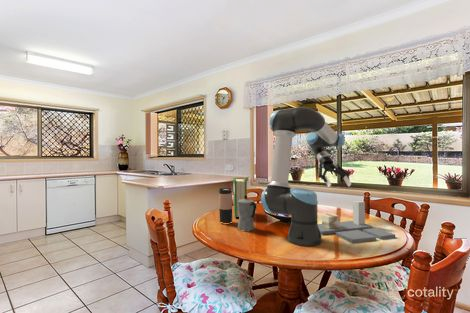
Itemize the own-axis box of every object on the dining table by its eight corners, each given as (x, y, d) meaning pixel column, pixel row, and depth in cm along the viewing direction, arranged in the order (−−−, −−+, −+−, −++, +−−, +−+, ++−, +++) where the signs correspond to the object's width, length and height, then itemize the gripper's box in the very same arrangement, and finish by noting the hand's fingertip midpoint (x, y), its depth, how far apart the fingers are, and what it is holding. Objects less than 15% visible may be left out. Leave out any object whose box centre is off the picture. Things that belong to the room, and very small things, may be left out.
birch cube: (328, 228, 126) (328, 216, 126) (321, 225, 132) (321, 214, 132) (339, 227, 128) (338, 216, 128) (331, 224, 133) (331, 213, 133)
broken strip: (352, 243, 110) (352, 239, 110) (335, 235, 121) (335, 232, 121) (395, 237, 116) (395, 234, 116) (376, 230, 127) (376, 227, 127)
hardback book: (247, 218, 155) (246, 180, 155) (235, 218, 155) (234, 180, 155) (244, 212, 173) (244, 177, 173) (233, 212, 173) (233, 177, 172)
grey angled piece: (322, 234, 122) (321, 207, 122) (308, 227, 133) (308, 202, 133) (372, 229, 129) (372, 203, 129) (355, 223, 141) (355, 199, 141)
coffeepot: (232, 227, 137) (231, 194, 136) (246, 224, 142) (245, 193, 142) (248, 234, 124) (248, 198, 124) (263, 231, 129) (262, 196, 129)
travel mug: (220, 221, 150) (219, 188, 150) (232, 221, 150) (232, 187, 150) (218, 224, 142) (218, 189, 142) (232, 224, 142) (231, 189, 142)
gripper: (338, 163, 166) (355, 188, 151) (305, 164, 160) (318, 190, 145) (344, 155, 161) (361, 181, 146) (309, 155, 155) (323, 182, 140)
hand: (340, 185), depth 146 cm, fingers open, 13 cm apart
